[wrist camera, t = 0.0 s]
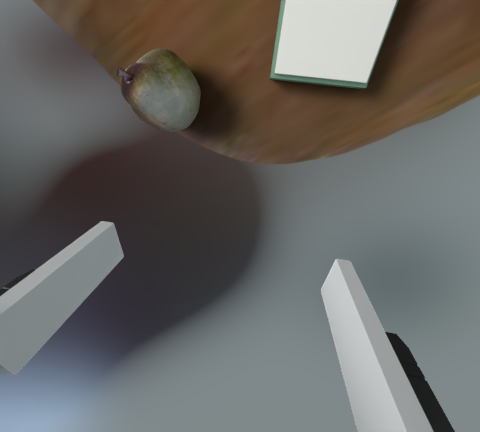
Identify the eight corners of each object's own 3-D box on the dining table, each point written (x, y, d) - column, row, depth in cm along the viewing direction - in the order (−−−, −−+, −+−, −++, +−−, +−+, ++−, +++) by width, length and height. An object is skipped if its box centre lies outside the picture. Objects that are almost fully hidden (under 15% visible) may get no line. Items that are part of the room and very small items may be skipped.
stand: (289, -56, 23) (293, -83, 19) (405, -49, 22) (429, -75, 19) (270, 79, 30) (270, 77, 26) (357, 88, 29) (368, 87, 26)
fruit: (161, 42, 29) (103, 14, 19) (217, 78, 30) (191, 69, 20) (146, 110, 34) (95, 117, 24) (194, 138, 36) (165, 155, 26)
